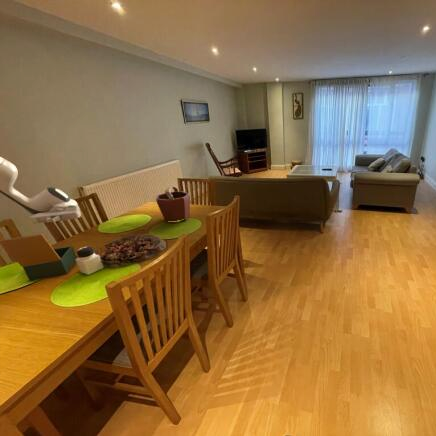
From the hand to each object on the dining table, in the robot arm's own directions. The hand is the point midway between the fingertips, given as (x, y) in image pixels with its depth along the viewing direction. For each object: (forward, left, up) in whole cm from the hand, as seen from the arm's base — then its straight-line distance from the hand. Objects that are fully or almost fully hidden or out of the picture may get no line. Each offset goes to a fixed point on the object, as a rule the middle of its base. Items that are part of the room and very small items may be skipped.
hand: (50, 221), depth 123 cm
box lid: (-8, -22, -5) cm, 24 cm away
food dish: (+28, -20, -21) cm, 40 cm away
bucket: (+65, +13, -21) cm, 69 cm away
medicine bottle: (+9, -26, -21) cm, 35 cm away
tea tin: (-4, -12, -21) cm, 25 cm away
